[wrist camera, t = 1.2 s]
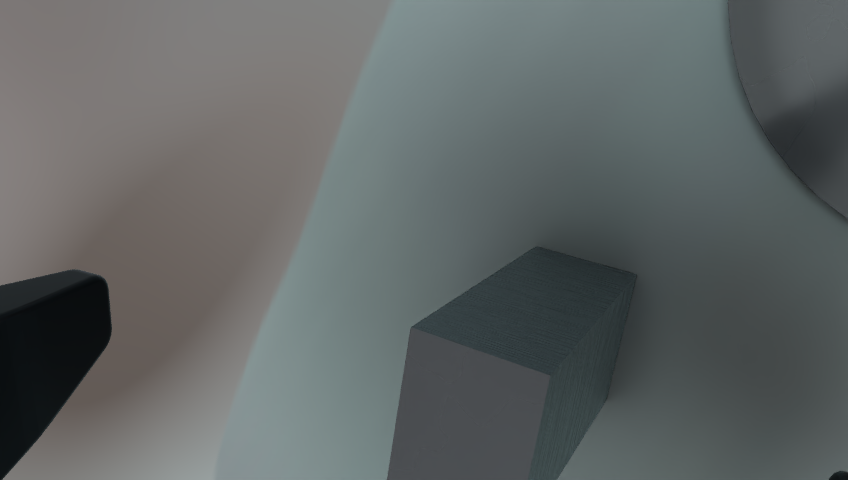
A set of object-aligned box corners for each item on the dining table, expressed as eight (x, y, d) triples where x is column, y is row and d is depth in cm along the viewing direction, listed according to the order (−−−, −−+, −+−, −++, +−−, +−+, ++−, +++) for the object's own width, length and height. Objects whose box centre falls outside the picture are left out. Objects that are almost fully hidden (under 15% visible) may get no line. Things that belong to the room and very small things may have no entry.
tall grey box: (605, 400, 22) (512, 551, 15) (511, 367, 24) (384, 493, 17) (636, 274, 21) (550, 375, 14) (536, 246, 22) (410, 327, 15)
